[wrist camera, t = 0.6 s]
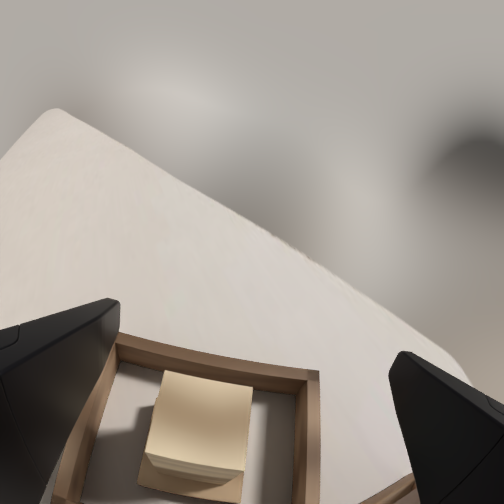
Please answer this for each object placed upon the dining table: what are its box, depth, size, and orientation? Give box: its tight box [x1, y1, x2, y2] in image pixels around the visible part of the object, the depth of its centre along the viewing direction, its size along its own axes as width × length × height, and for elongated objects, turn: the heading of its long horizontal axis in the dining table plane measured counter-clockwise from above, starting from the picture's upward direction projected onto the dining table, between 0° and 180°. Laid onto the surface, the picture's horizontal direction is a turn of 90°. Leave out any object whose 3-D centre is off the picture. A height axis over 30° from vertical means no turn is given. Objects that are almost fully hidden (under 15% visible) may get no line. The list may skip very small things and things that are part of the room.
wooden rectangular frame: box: [50, 332, 321, 504], centre depth 18 cm, size 15×17×3 cm
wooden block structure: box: [360, 473, 420, 504], centre depth 11 cm, size 4×11×18 cm, turn 109°
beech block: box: [145, 370, 253, 485], centre depth 16 cm, size 4×4×8 cm
